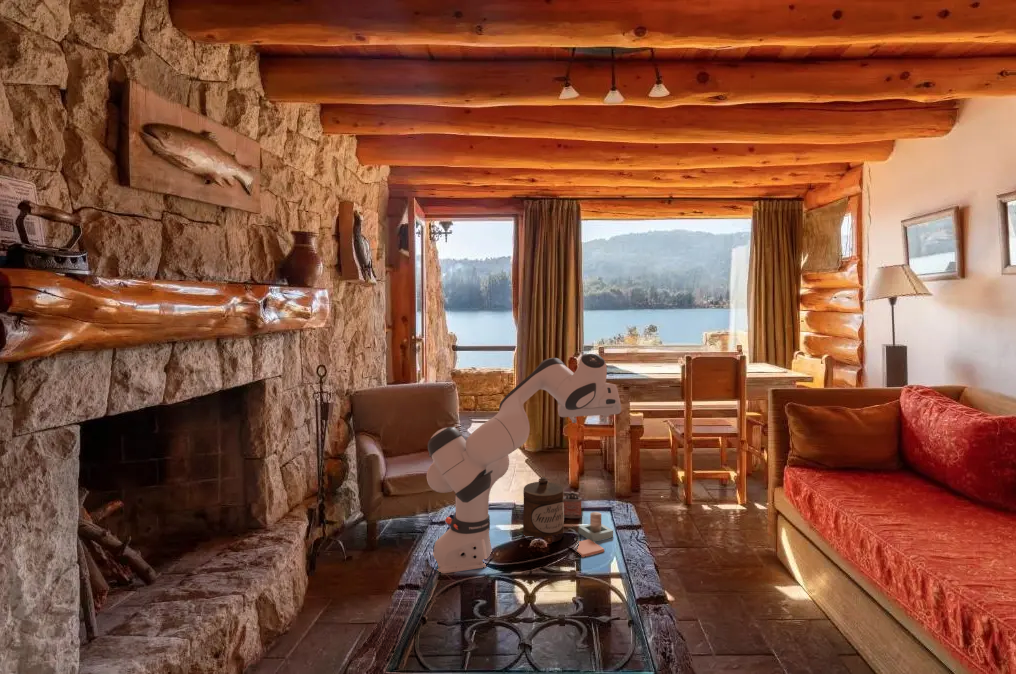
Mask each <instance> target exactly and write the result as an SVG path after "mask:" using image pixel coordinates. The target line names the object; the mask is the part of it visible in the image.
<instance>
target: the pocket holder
mask: <svg viewBox="0 0 1016 674" xmlns="http://www.w3.org/2000/svg"><path fill="white" fill-rule="evenodd" d="M578 534H579V535H581V536H582V535H583V536H582V537H584V538H585V539H586V540H587V539H590V540H591V541H593V542H594V543H596V542H600V541H603V539H604V540H607V539H610V538H611V537H612V538H614V530H613V529H611V528H610V527H608V526H606V525H604V524H603V523H601V532H597V533H593V532H591V531H590V523H587V524H583V525H580V526H579V525H578Z"/></svg>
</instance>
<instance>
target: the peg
mask: <svg viewBox="0 0 1016 674" xmlns="http://www.w3.org/2000/svg"><path fill="white" fill-rule="evenodd" d="M589 521H590V523H589V524H590V531H591V532H593V533H597V532H601V524H602V513H601V512H599V511H593V512H590V520H589Z"/></svg>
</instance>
